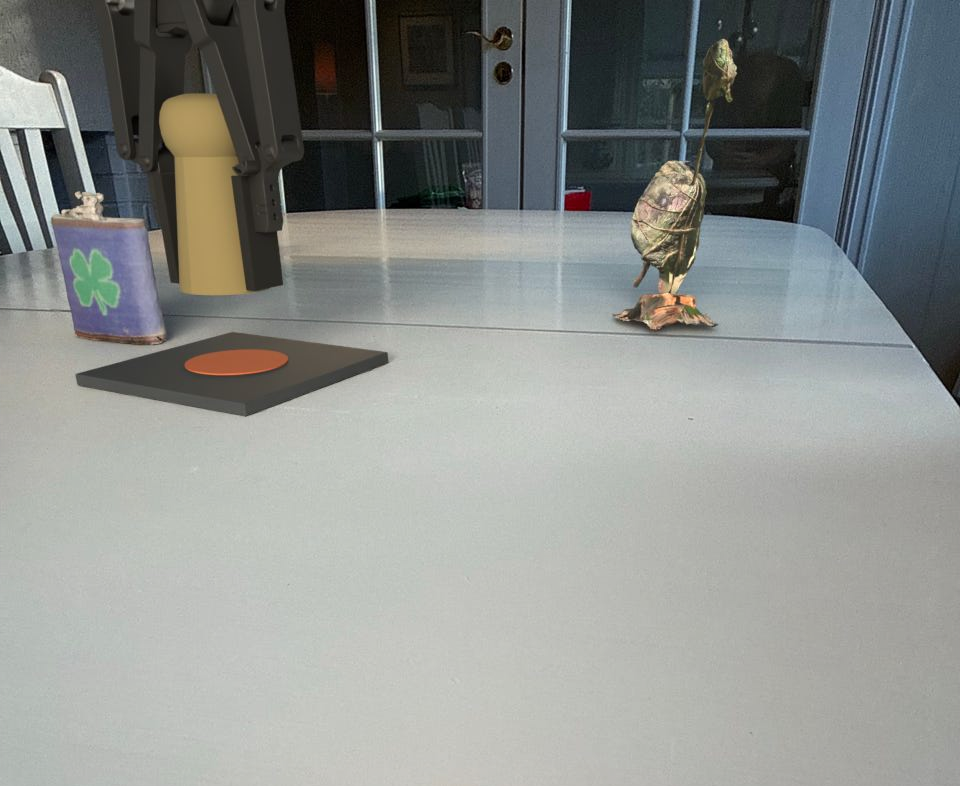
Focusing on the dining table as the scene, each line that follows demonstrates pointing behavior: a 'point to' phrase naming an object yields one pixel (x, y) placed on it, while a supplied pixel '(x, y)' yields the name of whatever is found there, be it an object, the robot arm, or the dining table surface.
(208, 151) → the cork
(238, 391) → the placemat
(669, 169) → the plant with pod
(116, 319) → the flask
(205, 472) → the dining table surface
